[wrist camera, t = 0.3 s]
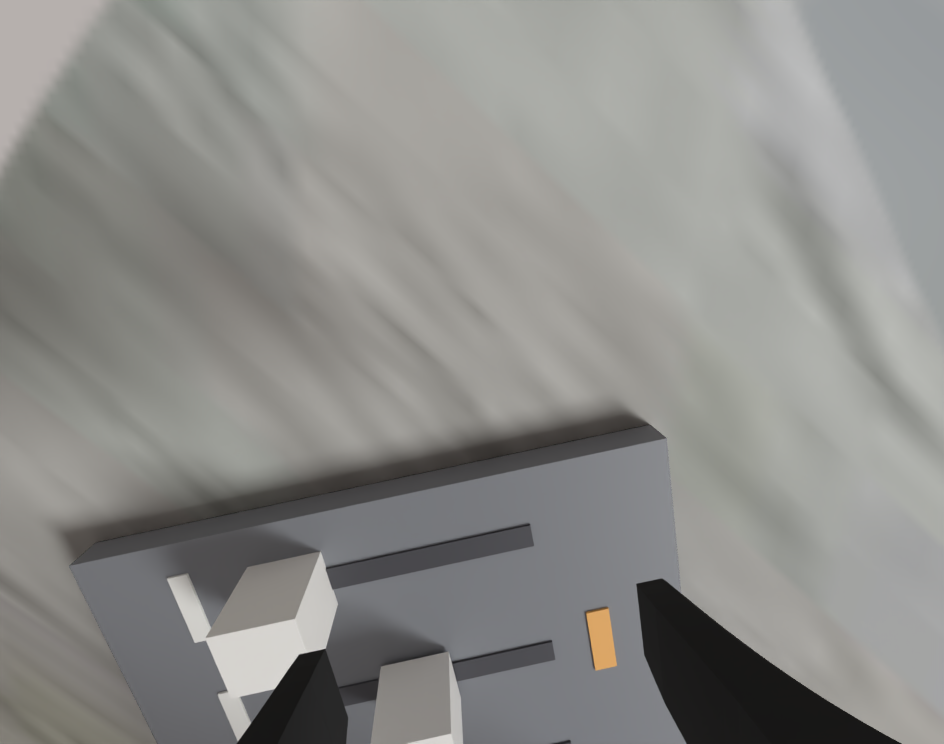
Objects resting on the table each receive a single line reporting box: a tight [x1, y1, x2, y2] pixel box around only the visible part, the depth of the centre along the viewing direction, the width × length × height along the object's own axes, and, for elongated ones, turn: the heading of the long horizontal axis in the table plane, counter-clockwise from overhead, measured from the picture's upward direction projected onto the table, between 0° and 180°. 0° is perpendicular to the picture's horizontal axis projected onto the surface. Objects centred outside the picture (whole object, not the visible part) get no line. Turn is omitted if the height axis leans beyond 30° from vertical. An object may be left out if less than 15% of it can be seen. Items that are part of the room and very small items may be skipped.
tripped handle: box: [371, 652, 463, 744], centre depth 19 cm, size 3×3×4 cm
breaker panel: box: [69, 425, 686, 744], centre depth 20 cm, size 18×24×5 cm
